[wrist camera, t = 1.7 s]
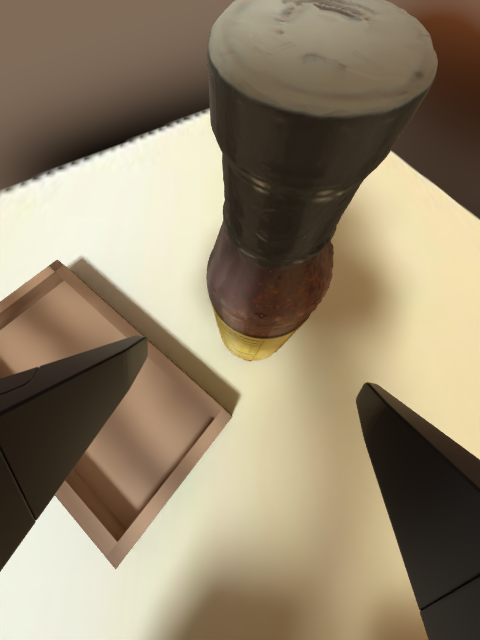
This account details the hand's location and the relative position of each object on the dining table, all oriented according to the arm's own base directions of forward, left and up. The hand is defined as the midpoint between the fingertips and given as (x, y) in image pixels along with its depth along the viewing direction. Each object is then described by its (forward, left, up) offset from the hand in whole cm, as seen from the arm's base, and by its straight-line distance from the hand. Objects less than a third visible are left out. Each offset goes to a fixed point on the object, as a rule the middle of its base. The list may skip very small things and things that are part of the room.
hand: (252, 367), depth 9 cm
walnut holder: (-8, +10, -12) cm, 18 cm away
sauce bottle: (+5, +2, -13) cm, 14 cm away
